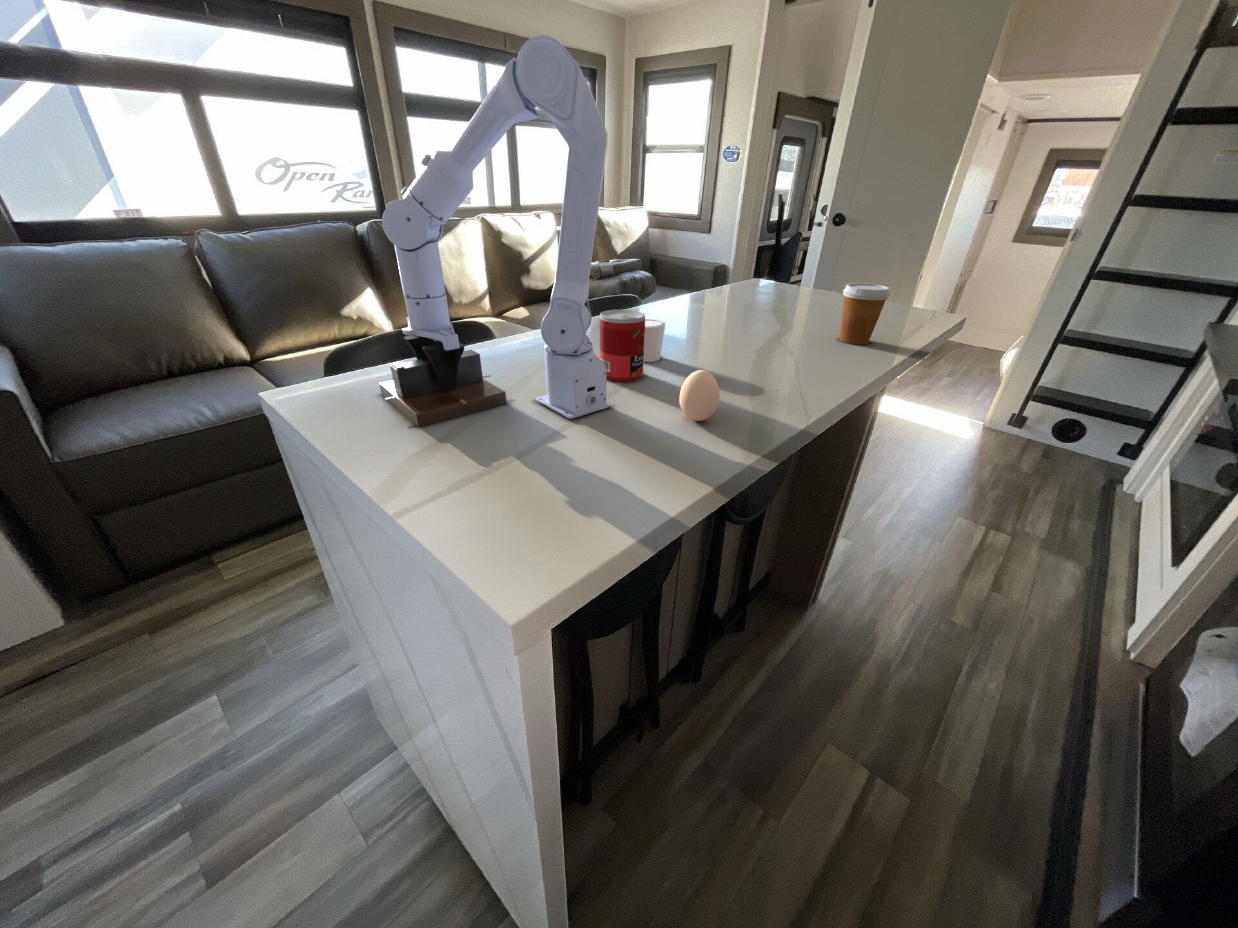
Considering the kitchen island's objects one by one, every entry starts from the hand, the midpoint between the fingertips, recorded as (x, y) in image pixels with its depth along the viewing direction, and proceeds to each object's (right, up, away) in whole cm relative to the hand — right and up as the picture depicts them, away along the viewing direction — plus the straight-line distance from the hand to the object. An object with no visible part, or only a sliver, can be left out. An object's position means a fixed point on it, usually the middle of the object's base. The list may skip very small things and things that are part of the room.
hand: (440, 384), depth 77 cm
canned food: (+29, +3, +13) cm, 31 cm away
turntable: (0, -2, +1) cm, 2 cm away
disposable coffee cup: (+82, +16, +36) cm, 91 cm away
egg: (+40, -6, -4) cm, 41 cm away
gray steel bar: (0, 0, 0) cm, 0 cm away
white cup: (+34, +9, +22) cm, 41 cm away
